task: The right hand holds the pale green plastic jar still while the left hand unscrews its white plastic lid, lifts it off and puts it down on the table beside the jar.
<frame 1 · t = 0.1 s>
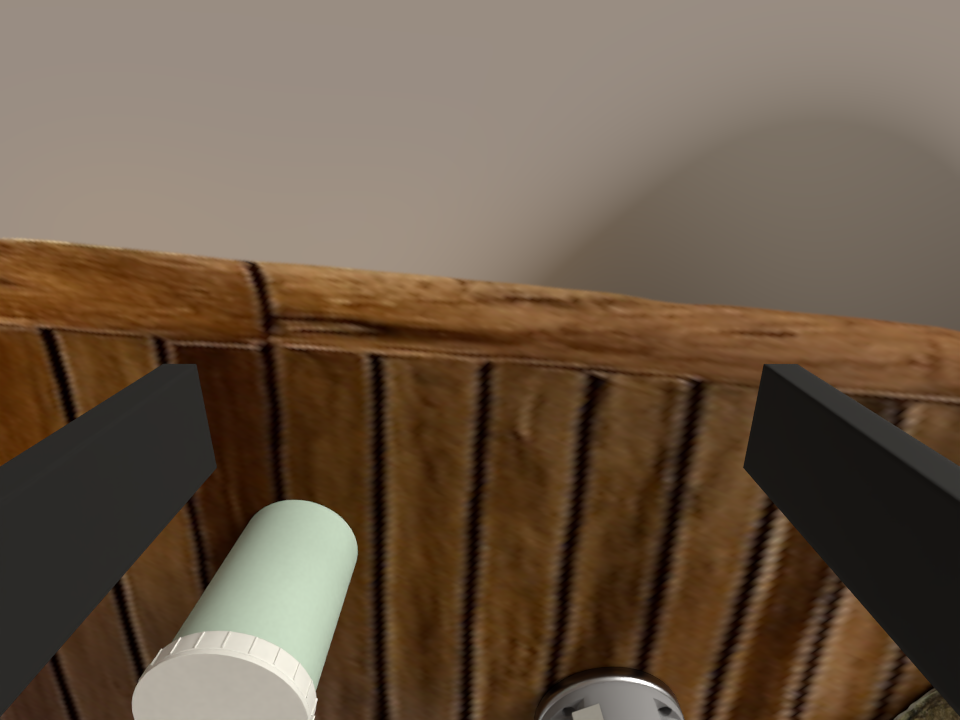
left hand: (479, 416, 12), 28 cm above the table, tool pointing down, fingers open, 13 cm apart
lid: (223, 713, 34), point 16 cm above the table, screwed on, not yet turned
jar: (301, 547, 48), on the table
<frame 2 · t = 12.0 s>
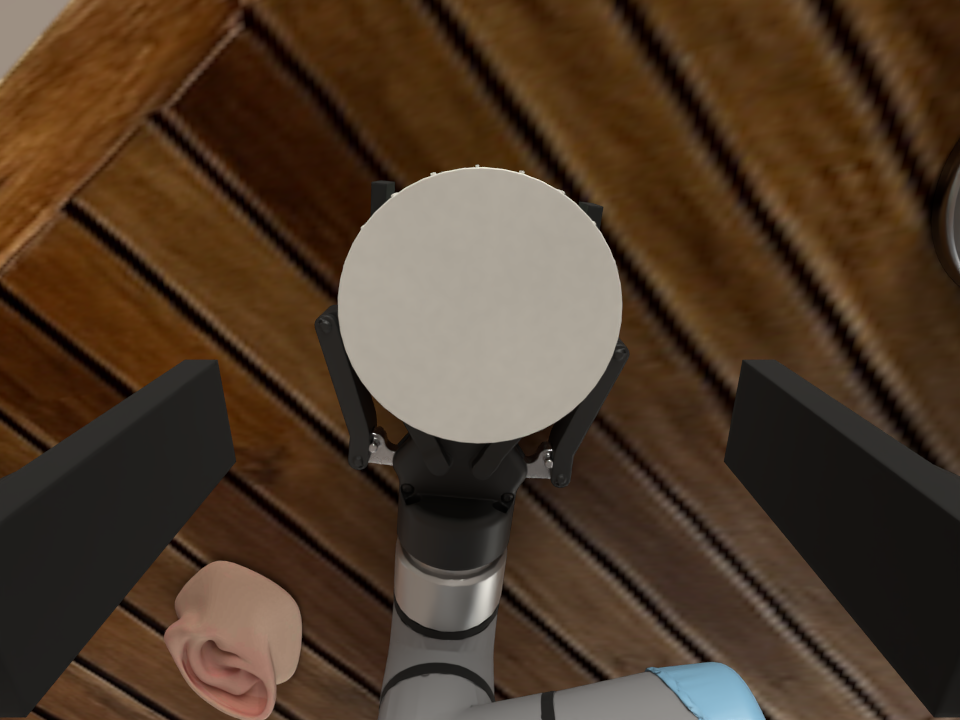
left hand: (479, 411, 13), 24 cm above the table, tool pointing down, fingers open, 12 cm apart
anatomical model: (241, 622, 47), on the table
lid: (479, 316, 21), point 16 cm above the table, screwed on, not yet turned
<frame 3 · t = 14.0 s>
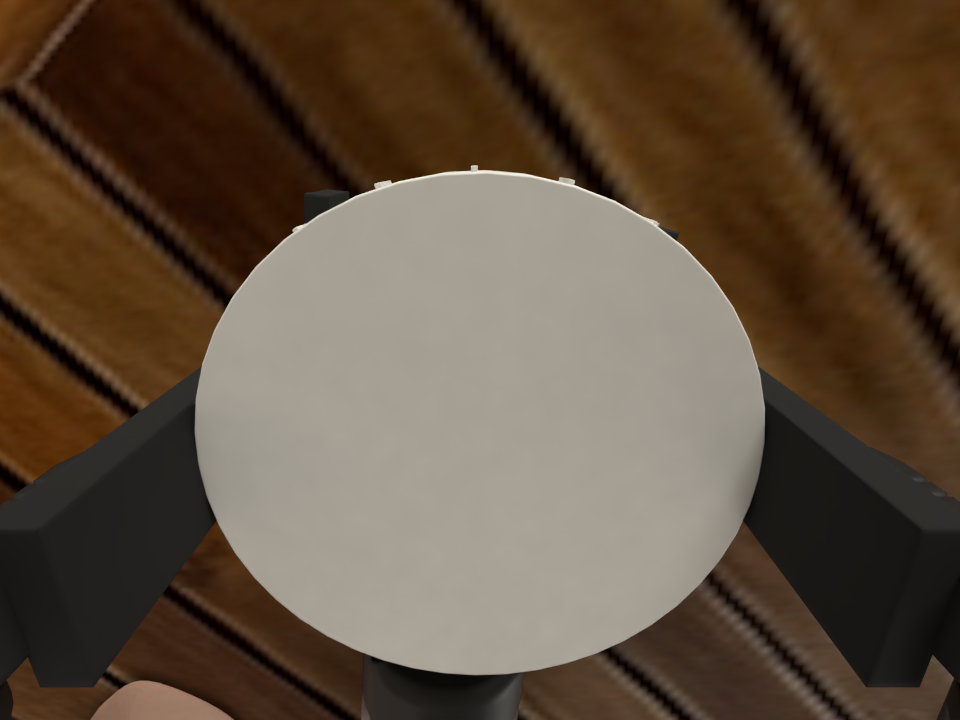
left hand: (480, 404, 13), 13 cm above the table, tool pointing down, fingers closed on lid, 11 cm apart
lid: (479, 460, 11), point 16 cm above the table, screwed on, not yet turned, touching left hand
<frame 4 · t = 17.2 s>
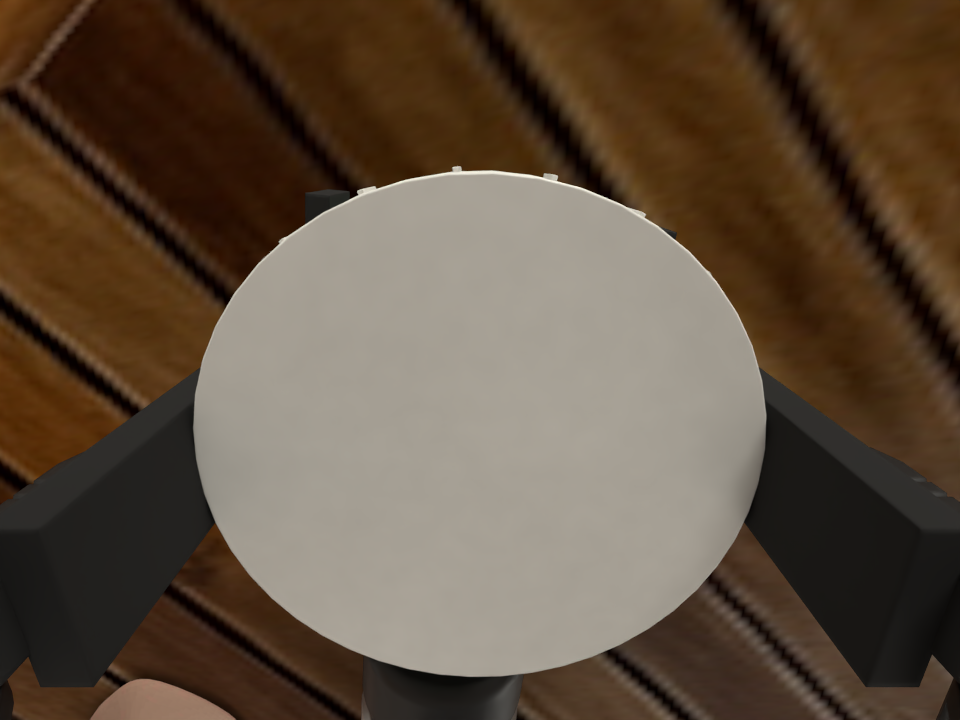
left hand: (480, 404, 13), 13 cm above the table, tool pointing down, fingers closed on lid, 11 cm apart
lid: (479, 462, 11), point 16 cm above the table, turned 89° so far, risen 0.2 cm, still on its thread, touching left hand
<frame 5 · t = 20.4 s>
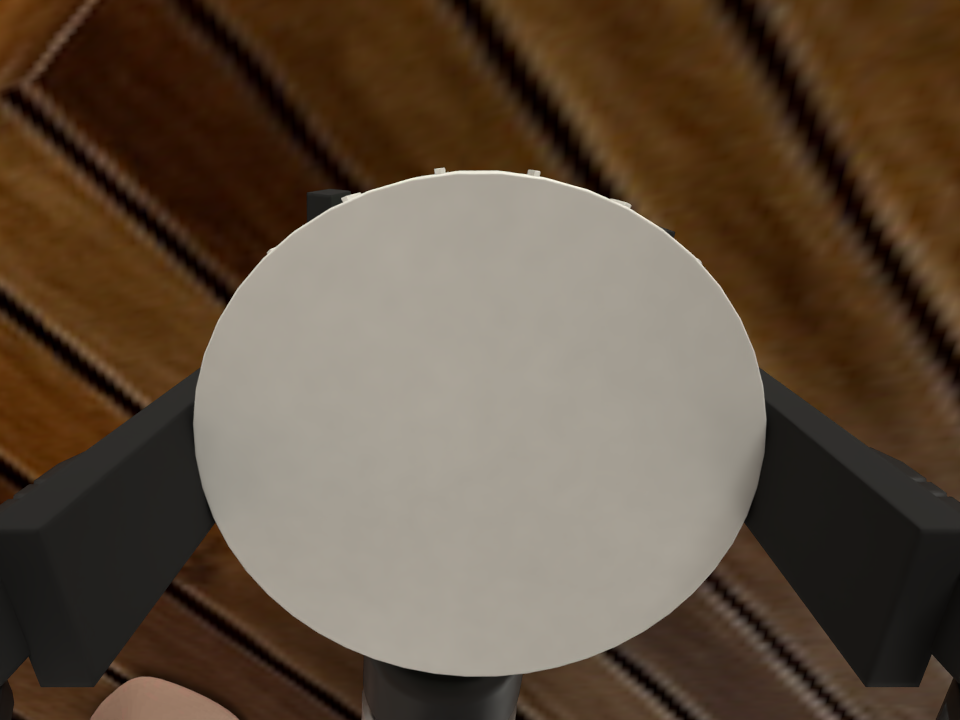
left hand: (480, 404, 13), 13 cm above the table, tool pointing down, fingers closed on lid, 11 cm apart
lid: (479, 461, 11), point 16 cm above the table, turned 178° so far, risen 0.3 cm, still on its thread, touching left hand
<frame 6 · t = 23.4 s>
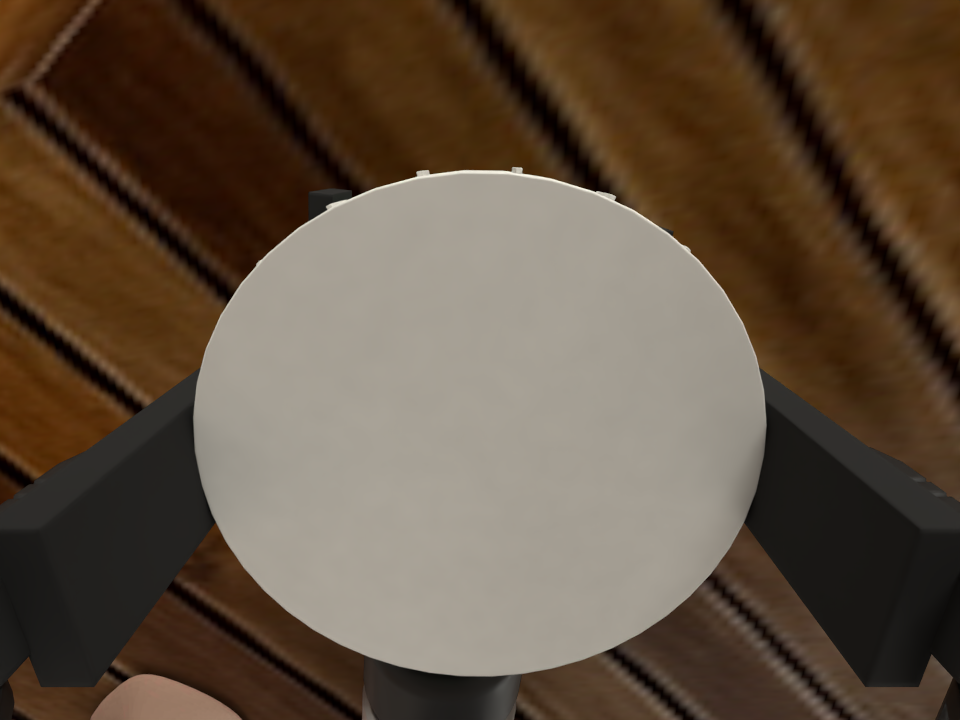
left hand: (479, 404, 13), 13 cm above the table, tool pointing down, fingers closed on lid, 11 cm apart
lid: (479, 461, 11), point 16 cm above the table, turned 267° so far, risen 0.5 cm, still on its thread, touching left hand
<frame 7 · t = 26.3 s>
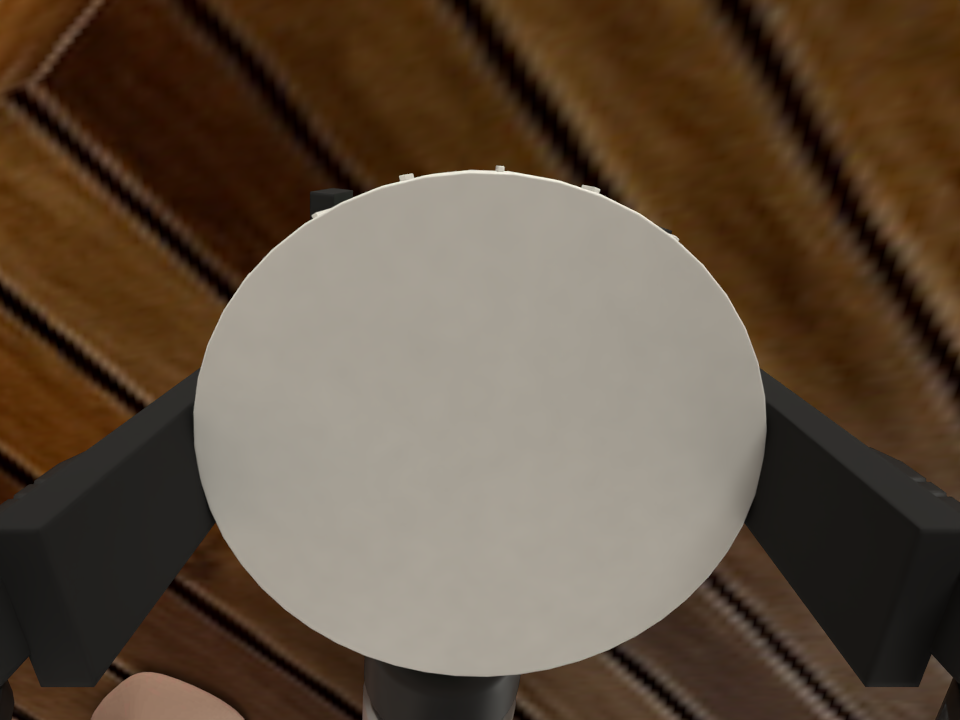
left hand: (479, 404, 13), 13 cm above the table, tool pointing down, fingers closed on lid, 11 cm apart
lid: (480, 461, 11), point 16 cm above the table, turned 356° so far, risen 0.6 cm, still on its thread, touching left hand
when the left hand's fingers open (0 cm above the table, at t = 34.1 s): lid drops 2 cm, point 1 cm above the table.
when the right hand's fingers open (6 cm above the table, at t = 35.1 s): jar stays where it is, on the table.
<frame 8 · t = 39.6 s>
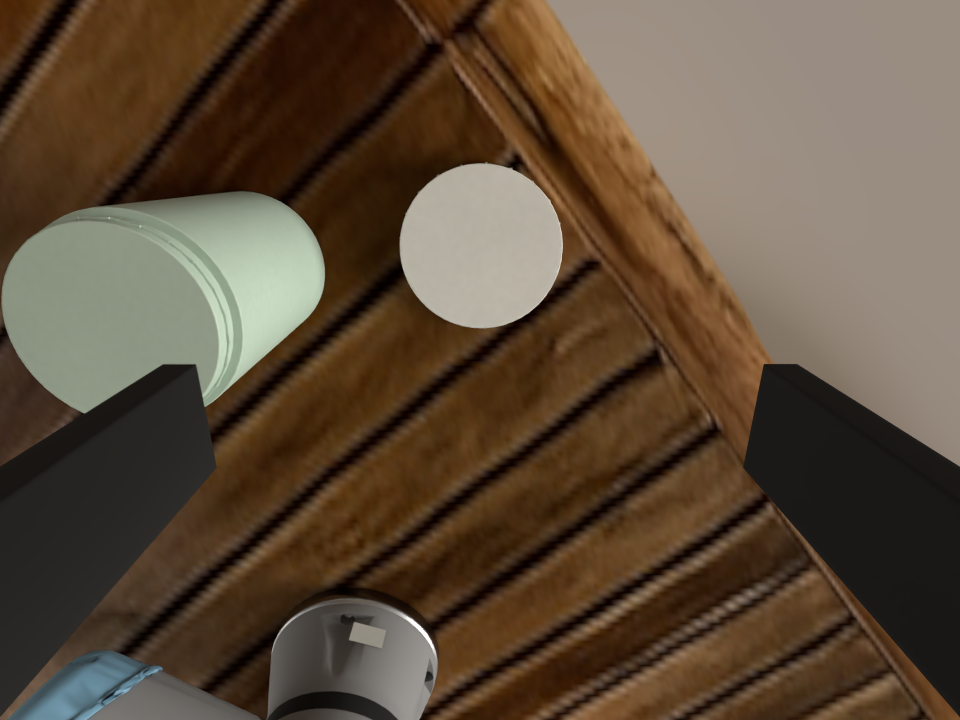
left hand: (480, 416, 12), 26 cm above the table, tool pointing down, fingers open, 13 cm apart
lid: (481, 249, 36), point 1 cm above the table, off its thread
jar: (253, 266, 38), on the table
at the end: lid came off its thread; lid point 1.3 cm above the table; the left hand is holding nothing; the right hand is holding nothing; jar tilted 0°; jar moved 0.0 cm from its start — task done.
